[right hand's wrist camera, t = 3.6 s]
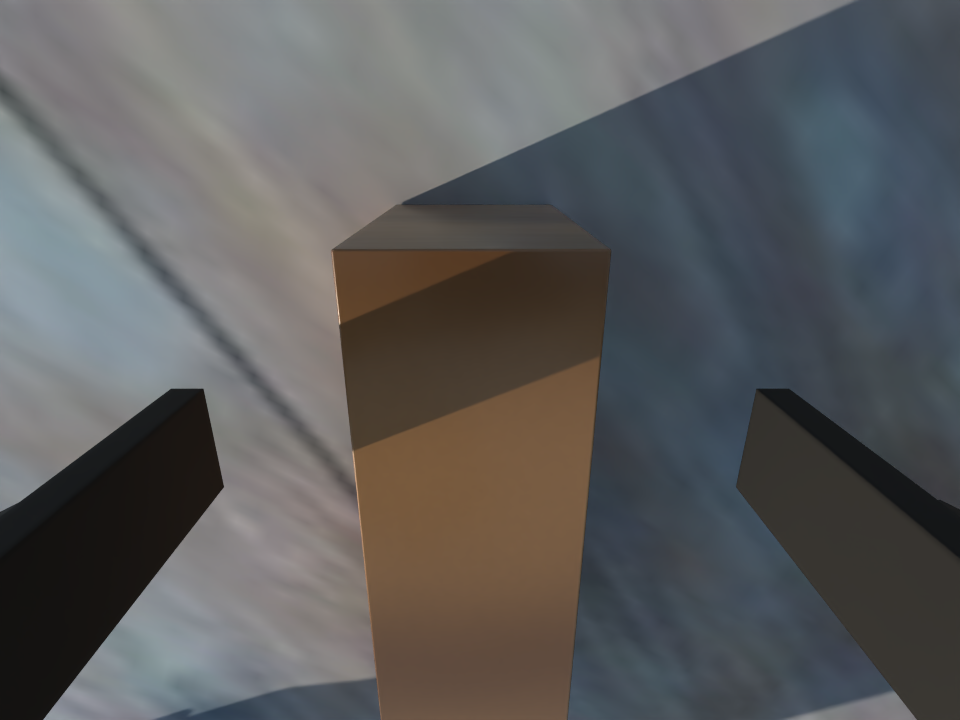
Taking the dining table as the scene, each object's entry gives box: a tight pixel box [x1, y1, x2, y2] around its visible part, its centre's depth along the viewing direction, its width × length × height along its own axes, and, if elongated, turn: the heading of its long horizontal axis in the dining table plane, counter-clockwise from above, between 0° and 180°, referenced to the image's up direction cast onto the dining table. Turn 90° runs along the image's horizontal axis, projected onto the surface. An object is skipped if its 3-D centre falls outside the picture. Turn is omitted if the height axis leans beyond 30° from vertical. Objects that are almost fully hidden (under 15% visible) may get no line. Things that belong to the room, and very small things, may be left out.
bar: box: [331, 205, 611, 720], centre depth 18 cm, size 23×6×9 cm, turn 0°
